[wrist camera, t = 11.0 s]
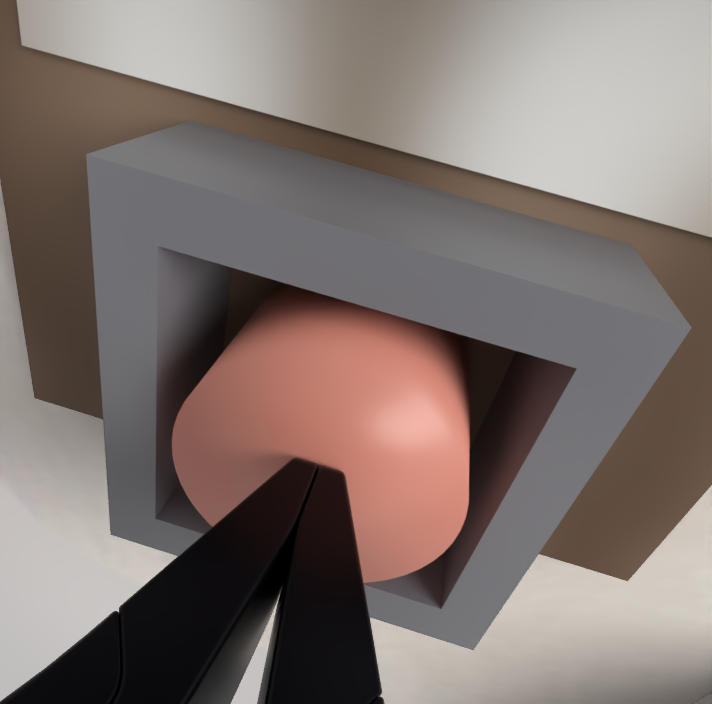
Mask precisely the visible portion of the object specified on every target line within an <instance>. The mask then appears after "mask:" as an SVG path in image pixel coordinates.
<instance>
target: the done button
mask: <svg viewBox="0 0 712 704" xmlns="http://www.w3.org/2000/svg"><path fill="white" fill-rule="evenodd" d="M469 448H470V370H469V363H468V360H467V356H466V353H465V350H464V347H463V345H462V343H461V341H460V339H459V337H458V335H457V334H456V333H453V332H450V331H447V330H443V329H440V328H436V327H433V326H430V325H426V324H423V323H419V322H416V321H412V320H409V319H406V318H402V317H399V316H395V315H392V314H388V313H385V312H382V311H378V310H375V309H371V308H368V307H365V306H361V305H358V304H354V303H351V302H347V301H344V300H341V299H337V298H334V297H330V296H327V295H324V294H320V293H317V292H313V291H310V290H306V289H303V288H300V287H296V286H293V285H289V284H285V285H284V286H282V287H281V288H279V289H277V290H276V291H274V292H273V293H272V294H271V295H270V296H268V297H267V298H266V299H265V300H264V301H263V302H262V303H261V304H260V306H259V307H258V308H257V309H256V311H255V312H254V313H253V314H252V316H251V317H250V318H249V319H248V321H247V322H246V323H245V325H244V326H243V327H242V328H241V330H240V331H239V332H238V334H237V335H236V336H235V337H234V339H233V340H232V341H231V343H230V344H229V345H228V346H227V348H226V349H225V350H224V352H223V353H222V354H221V355H220V357H219V358H218V359H217V361H216V362H215V363H214V364H213V366H212V367H211V368H210V369H209V371H208V372H207V373H206V375H205V376H204V377H203V378H202V380H201V381H200V382H199V384H198V385H197V386H196V387H195V389H194V390H193V391H192V393H191V394H190V395H189V396H188V398H187V399H186V400H185V402H184V403H183V405H182V407H181V409H180V411H179V413H178V415H177V418H176V421H175V424H174V427H173V435H172V456H173V461H174V465H175V470H176V473H177V475H178V478H179V481H180V483H181V485H182V487H183V489H184V491H185V493H186V495H187V497H188V498H189V499H190V501H191V502H192V504H193V505H194V507H195V508H196V510H197V511H198V512H199V513H200V514H201V515H202V517H203V518H204V519H205V520H206V521H207V522H208V523H209V524H210V525H211V526H212V527H213V526H214V525H215V524H216V523H218V522H219V521H220V520H221V519H222V518H223V517H225V516H226V515H227V514H228V513H229V512H230V511H232V510H233V509H234V508H235V507H236V506H237V505H239V504H240V503H241V502H242V501H243V500H244V499H246V498H247V497H248V496H249V495H250V494H251V493H253V492H254V491H255V490H256V489H257V488H258V487H260V486H261V485H262V484H263V483H264V482H265V481H267V480H268V479H269V478H270V477H271V476H272V475H274V474H275V473H276V472H277V471H278V470H279V469H280V468H282V467H283V466H284V465H285V464H286V463H287V462H289V461H290V460H291V459H293V458H300V459H304V460H307V461H310V462H313V463H316V464H317V465H318V469H319V467H320V466H327V467H330V468H333V469H336V470H340V471H342V472H343V473H344V474H345V476H346V482H347V488H348V494H349V500H350V505H351V511H352V517H353V523H354V529H355V535H356V541H357V547H358V553H359V558H360V564H361V570H362V576H363V582H364V583H366V582H377V581H383V580H389V579H393V578H397V577H400V576H404V575H407V574H409V573H411V572H414V571H416V570H419V569H421V568H422V567H424V566H426V565H428V564H429V563H431V562H433V561H434V560H435V559H436V558H438V557H439V556H440V555H442V554H443V553H444V552H445V551H446V550H447V549H448V548H449V546H450V545H451V544H452V543H453V542H454V540H455V539H456V537H457V536H458V534H459V533H460V531H461V529H462V526H463V524H464V521H465V519H466V515H467V510H468V505H469Z"/></svg>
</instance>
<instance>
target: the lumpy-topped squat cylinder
mask: <svg viewBox="0 0 712 704" xmlns="http://www.w3.org/2000/svg"><path fill="white" fill-rule="evenodd" d="M693 704H712V693H710V694H708V695H706V696H705V697H703V698H701V699H700V700H698V701H696V702H695V703H693Z"/></svg>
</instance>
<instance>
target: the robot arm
mask: <svg viewBox="0 0 712 704" xmlns="http://www.w3.org/2000/svg"><path fill="white" fill-rule="evenodd" d="M280 592H281V593H280ZM279 595H280V597H279ZM278 597H279V601H278V605H277V609H276V614H275V618H274V623H273V628H272V633H271V638H270V643H269V648H268V653H267V658H266V663H265V668H264V673H263V678H262V683H261V688H260V692H259V698H258V702H257V704H384V699H383V698H382V697H380V695H381V694H382V688H381V682H380V676H379V670H378V665H377V659H376V653H375V647H374V641H373V635H372V629H371V623H370V617H369V611H368V606H367V600H366V594H365V588H364V582H363V576H362V570H361V564H360V558H359V553H358V547H357V541H356V535H355V529H354V523H353V517H352V511H351V505H350V500H349V494H348V488H347V482H346V476H345V474H344V473H343V472H342V471H340V470H336V469H333V468H330V467H327V466H320V467H319V469H318V465H317V464H316V463H313V462H310V461H307V460H304V459H300V458H293V459H291V460H290V461H289V462H287V463H286V464H285V465H284V466H283V467H282V468H280V469H279V470H278V471H277V472H276V473H275V474H274V475H272V476H271V477H270V478H269V479H268V480H267V481H265V482H264V483H263V484H262V485H261V486H260V487H258V488H257V489H256V490H255V491H254V492H253V493H251V494H250V495H249V496H248V497H247V498H246V499H244V500H243V501H242V502H241V503H240V504H239V505H237V506H236V507H235V508H234V509H233V510H232V511H230V512H229V513H228V514H227V515H226V516H225V517H223V518H222V519H221V520H220V521H219V522H218V523H216V524H215V525H214V526H213V527H212V528H211V529H209V530H208V531H207V532H206V533H205V534H204V535H202V536H201V537H200V538H199V539H198V540H197V541H195V542H194V543H193V544H192V545H191V546H190V547H188V548H187V549H186V550H185V551H184V552H183V553H181V554H180V555H179V556H178V557H177V558H176V559H174V560H173V561H172V562H171V563H170V564H169V565H168V566H166V567H165V568H164V569H163V570H162V571H161V572H159V573H158V574H157V575H156V576H155V577H154V578H152V579H151V580H150V581H149V582H148V583H147V584H145V585H144V586H143V587H142V588H141V589H140V590H138V591H137V592H136V593H135V594H134V595H133V596H131V597H130V598H129V599H128V600H127V601H126V602H124V604H122V605H121V606H120V607H119V612H117V611H114V612H112V613H111V614H110V615H109V616H108V617H107V618H106V619H104V620H103V621H102V622H101V623H100V624H98V625H97V626H96V627H95V628H94V629H93V630H91V631H90V632H89V633H88V634H87V635H86V636H84V637H83V638H82V639H81V640H79V641H78V642H77V643H76V644H75V645H73V646H72V647H71V648H70V649H68V650H67V651H66V652H65V653H63V654H62V655H61V656H60V657H58V658H57V659H56V660H55V661H54V662H52V663H51V664H50V665H49V666H47V667H46V668H45V669H44V670H42V671H41V672H39V673H38V674H37V675H35V676H34V677H33V678H31V679H30V680H29V681H27V682H26V683H25V684H23V685H22V686H21V687H19V688H18V689H17V690H15V691H14V692H12V693H11V694H10V695H8V696H7V697H6V698H4V699H3V700H2V701H0V704H230V703H231V701H232V699H233V697H234V695H235V693H236V691H237V688H238V686H239V684H240V682H241V680H242V678H243V675H244V673H245V671H246V669H247V667H248V665H249V662H250V660H251V658H252V656H253V654H254V652H255V649H256V647H257V645H258V643H259V641H260V639H261V636H262V634H263V632H264V630H265V628H266V626H267V623H268V621H269V619H270V617H271V615H272V612H273V610H274V607H275V605H276V603H277V600H278Z"/></svg>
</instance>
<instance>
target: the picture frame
mask: <svg viewBox="0 0 712 704" xmlns="http://www.w3.org/2000/svg"><path fill="white" fill-rule="evenodd" d="M187 121H194V122H198V123H201V124H205V125H209V126H212V127H216V128H219V129H223V130H226V131H230V132H234V133H237V134H241V135H244V136H248V137H251V138H255V139H258V140H262V141H266V142H269V143H273V144H276V145H280V146H283V147H287V148H290V149H294V150H298V151H301V152H305V153H308V154H312V155H315V156H319V157H323V158H326V159H330V160H333V161H337V162H340V163H344V164H347V165H351V166H355V167H358V168H362V169H365V170H369V171H372V172H376V173H379V174H383V175H387V176H390V177H394V178H397V179H401V180H404V181H408V182H411V183H415V184H419V185H422V186H426V187H429V188H433V189H436V190H440V191H444V192H447V193H451V194H454V195H458V196H461V197H465V198H468V199H472V200H476V201H479V202H483V203H486V204H490V205H493V206H497V207H500V208H504V209H508V210H511V211H515V212H518V213H522V214H525V215H529V216H533V217H536V218H540V219H543V220H547V221H550V222H554V223H557V224H561V225H565V226H568V227H572V228H575V229H579V230H582V231H586V232H589V233H593V234H597V235H600V236H604V237H607V238H611V239H614V240H618V241H621V242H625V243H629V244H632V246H633V247H634V248H635V250H636V251H637V253H638V254H639V255H640V257H641V258H642V260H643V261H644V262H645V264H646V265H647V266H648V268H649V269H650V271H651V272H652V273H653V275H654V276H655V277H656V279H657V280H658V282H659V283H660V284H661V286H662V287H663V289H664V290H665V291H666V293H667V294H668V295H669V297H670V298H671V300H672V301H673V302H674V304H675V305H676V307H677V308H678V309H679V311H680V312H681V313H682V315H683V316H684V318H685V319H686V320H687V322H688V323H689V325H690V326H691V327H692V328H691V330H690V331H689V333H688V334H687V335H686V337H685V338H684V340H683V341H682V343H681V344H680V346H679V347H678V349H677V350H676V352H675V353H674V355H673V356H672V358H671V359H670V361H669V362H668V364H667V365H666V366H665V368H664V369H663V371H662V372H661V374H660V375H659V377H658V378H657V380H656V381H655V383H654V384H653V386H652V387H651V389H650V390H649V392H648V393H647V394H646V396H645V397H644V399H643V400H642V402H641V403H640V405H639V406H638V408H637V409H636V411H635V412H634V414H633V415H632V417H631V418H630V420H629V421H628V423H627V424H626V425H625V427H624V428H623V430H622V431H621V433H620V434H619V436H618V437H617V439H616V440H615V442H614V443H613V445H612V446H611V448H610V449H609V451H608V452H607V454H606V455H605V456H604V458H603V459H602V461H601V462H600V464H599V465H598V467H597V468H596V470H595V471H594V473H593V474H592V476H591V477H590V479H589V480H588V482H587V483H586V484H585V486H584V487H583V489H582V490H581V492H580V493H579V495H578V496H577V498H576V499H575V501H574V502H573V504H572V505H571V507H570V508H569V510H568V511H567V513H566V514H565V515H564V517H563V518H562V520H561V521H560V523H559V524H558V526H557V527H556V529H555V530H554V532H553V533H552V535H551V536H550V538H549V539H548V541H547V542H546V544H545V545H544V546H543V548H542V549H541V551H540V552H539V554H541V555H545V556H548V557H551V558H554V559H558V560H561V561H564V562H567V563H571V564H574V565H577V566H580V567H584V568H587V569H590V570H593V571H596V572H600V573H603V574H606V575H609V576H613V577H616V578H619V579H622V580H626V581H628V580H629V579H630V578H631V577H632V575H633V574H634V573H635V572H636V571H637V570H638V569H639V567H640V566H641V565H642V564H643V563H644V562H645V561H646V559H647V558H648V557H649V556H650V555H651V554H652V553H653V551H654V550H655V549H656V548H657V547H658V546H659V545H660V543H661V542H662V541H663V540H664V539H665V538H666V537H667V535H668V534H669V533H670V532H671V531H672V530H673V529H674V527H675V526H676V525H677V524H678V523H679V522H680V521H681V519H682V518H683V517H684V516H685V515H686V514H687V513H688V511H689V510H690V509H691V508H692V507H693V506H694V505H695V503H696V502H697V501H698V500H699V499H700V498H701V497H702V495H703V494H704V493H705V492H706V491H707V490H708V488H709V487H710V486H711V485H712V0H0V180H1V186H2V192H3V199H4V205H5V212H6V218H7V224H8V231H9V237H10V243H11V250H12V256H13V263H14V269H15V275H16V282H17V288H18V295H19V301H20V307H21V314H22V320H23V326H24V333H25V339H26V346H27V352H28V358H29V365H30V371H31V378H32V384H33V390H34V397H35V398H36V399H40V400H43V401H46V402H49V403H53V404H56V405H59V406H62V407H66V408H69V409H72V410H75V411H79V412H82V413H85V414H88V415H91V416H95V417H98V418H101V419H103V407H102V391H101V376H100V360H99V345H98V329H97V314H96V298H95V283H94V267H93V252H92V236H91V221H90V205H89V190H88V174H87V159H86V154H88V153H92V152H95V151H98V150H101V149H104V148H107V147H110V146H113V145H116V144H119V143H122V142H126V141H129V140H132V139H135V138H138V137H141V136H144V135H147V134H150V133H153V132H156V131H160V130H163V129H166V128H169V127H172V126H175V125H178V124H181V123H184V122H187ZM285 284H286V283H283V282H279V281H276V280H272V279H269V278H265V277H262V276H259V275H255V274H252V273H248V272H245V271H242V270H238V269H235V268H231V277H230V287H229V297H228V308H227V318H226V329H225V339H224V350H225V349H226V348H227V346H228V345H229V344H230V343H231V341H232V340H233V339H234V337H235V336H236V335H237V334H238V332H239V331H240V330H241V328H242V327H243V326H244V325H245V323H246V322H247V321H248V319H249V318H250V317H251V316H252V314H253V313H254V312H255V311H256V309H257V308H258V307H259V306H260V304H261V303H262V302H263V301H264V300H265V299H266V298H267V297H268V296H270V295H271V294H272V293H273V292H274V291H276V290H277V289H279V288H281V287H282V286H284V285H285ZM456 334H457V333H456ZM457 335H458V337H459V339H460V341H461V343H462V345H463V347H464V350H465V353H466V356H467V360H468V363H469V370H470V448H471V446H472V444H473V442H474V440H475V438H476V436H477V434H478V432H479V429H480V427H481V425H482V423H483V421H484V419H485V417H486V415H487V413H488V410H489V408H490V406H491V404H492V402H493V400H494V398H495V396H496V393H497V391H498V389H499V387H500V385H501V383H502V381H503V379H504V377H505V374H506V372H507V370H508V368H509V366H510V364H511V362H512V360H513V358H514V355H515V353H516V351H515V350H512V349H508V348H505V347H501V346H498V345H494V344H491V343H488V342H484V341H481V340H477V339H474V338H471V337H467V336H464V335H460V334H457ZM224 350H223V352H224ZM470 448H469V451H470Z"/></svg>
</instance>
